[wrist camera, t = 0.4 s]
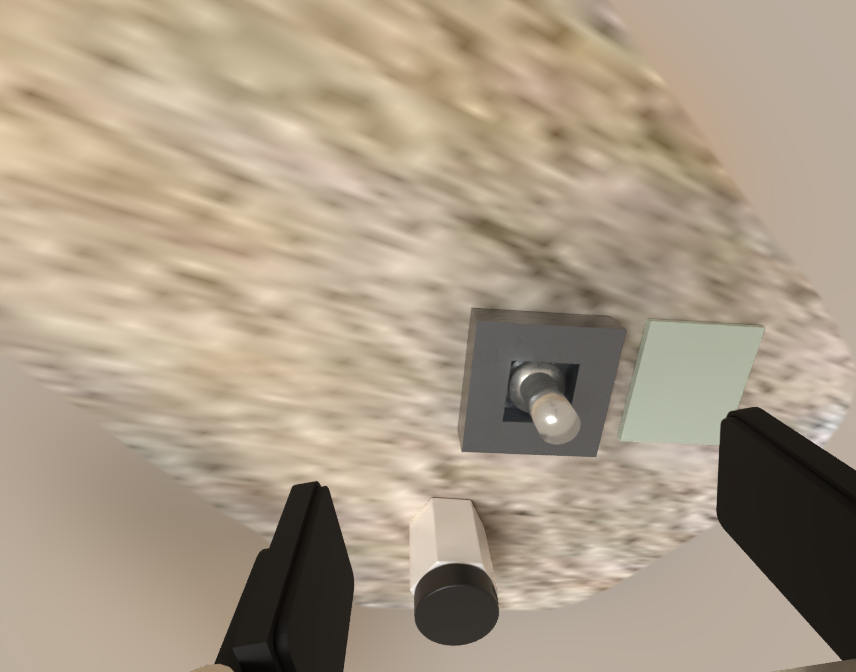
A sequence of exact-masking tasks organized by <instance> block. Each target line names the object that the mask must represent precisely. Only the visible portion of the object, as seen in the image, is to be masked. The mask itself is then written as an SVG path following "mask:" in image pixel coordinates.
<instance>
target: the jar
mask: <svg viewBox="0 0 856 672" xmlns="http://www.w3.org/2000/svg"><path fill="white" fill-rule="evenodd" d="M410 591H411V593H412V594H413V596H414V612H415V613H414V616H415V623H416V625H417V628H418V629H419V631H420V632H421V633H422V634H423V635H424V636H425V637H426V638H428V639H429V640H431V641H433V642H436V643H439V644H443V645H452V646H455V645H465V644H469V643H472V642H475V641H477V640H479V639H481V638H483V637H484V636H486V635H487V634H488V633H489V632H490V631H491V630H492V629H493V628H494V626H495V625H496V623H497V620H498V617H499V607H498V598H497V595H498V591H497V586H496V581H495V576H494V572H493V567H492V562H491V557H490V553H489V548H488V543H487V538H486V534H485V529H484V526H483V524H482V522H481V520H480V518H479V516H478V514H477V512H476V510H475V508H474V506H473V504H472V502H471V501H470V500H462V499H447V498H431V500H430V501H429V502H428V503H427V504H426V505H425V506H424V507H423V508H422V510H421V511H420V512H419V513H418V514H417V515H416V516H415V517H414V519H413V520H412V521H411V522H410Z"/></svg>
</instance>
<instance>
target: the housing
mask: <svg viewBox="0 0 856 672" xmlns="http://www.w3.org/2000/svg"><path fill="white" fill-rule="evenodd" d="M625 334H626V329H625V328H624V327H622V326H621V325H620V324H619V323H617V322H616V321H615V320H613V319H612V318H611V317H609V316H597V315H581V314H564V313H548V312H531V311H514V310H498V309H481V308H471V316H470V325H469V334H468V342H467V351H466V360H465V369H464V378H463V387H462V396H461V405H460V413H459V422H458V435H459V440H460V446H461V451H462V452H481V453H506V454H532V455H557V456H582V457H596V455H597V451H598V447H599V443H600V439H601V435H602V430H603V426H604V422H605V418H606V414H607V410H608V405H609V401H610V397H611V393H612V389H613V384H614V380H615V376H616V372H617V368H618V364H619V359H620V355H621V351H622V347H623V343H624V339H625ZM516 361H531V362H550V363H555V364H556V366H557V367H558V368H559V370H560V371H561V372H562V374H563V376H564V378H565V382H566V389H565V393H564V395H565V397H566V398H567V400H568V401H569V403H570V404H571V406H572V407H573V409H574V410H575V412H576V413H577V415H578V416H579V418H580V422H581V426H580V430H579V432H578V434H577V435H576V436H575V437H574V438H573V439H572V440H571V441H569V442H567V443H564V444H559V445H555V444H550V443H547V442H546V441H544V440H543V439H542V438H541V436H540V434H539V432H538V430H537V428H536V426H535V424H534V422H533V420H532V418H531V416H530V414H529V413H527V412H524V411H522V410H520V409H519V408H517V407H516V406H515V404H514V403H513V402H512V400H511V397H510V395H509V393H508V391H507V388H508V381H509V375H510V368H511V366H512V365H513V364H514V363H515V362H516Z"/></svg>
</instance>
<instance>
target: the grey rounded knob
mask: <svg viewBox="0 0 856 672" xmlns="http://www.w3.org/2000/svg"><path fill="white" fill-rule="evenodd" d="M565 389H566V382H565V378H564V376H563V374H562V372H561V371H560V370H559V368H558V367H557V366H556V364H555V363H550V362H531V361H516V362H515V363H514V364H513V365H512V366H511V368H510V375H509V381H508V388H507V391H508V393H509V395H510V397H511V400H512V402H513V403H514V404H515V406H516V407H517V408H519V409H520V410H522V411H524V412H527V413H529V414H530V416H531V418H532V420H533V422H534V424H535V426H536V428H537V430H538V432H539V434H540V436H541V438H542V439H543V440H544V441H546V442H547V443H550V444H555V445H559V444H564V443H567V442H569V441H571V440H572V439H573V438H574V437H575V436H576V435H577V434H578V432H579V430H580V426H581V422H580V418H579V416H578V415H577V413H576V412H575V410H574V409H573V407H572V406H571V404H570V403H569V401H568V400H567V398H566V397H565V395H564V393H565Z"/></svg>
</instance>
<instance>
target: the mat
mask: <svg viewBox="0 0 856 672" xmlns="http://www.w3.org/2000/svg"><path fill="white" fill-rule="evenodd" d="M764 330H765V327H762V326H760V325H747V324H731V323H714V322H697V321H681V320H664V319H647V322H646V326H645V330H644V334H643V337H642V341H641V345H640V349H639V353H638V357H637V361H636V365H635V369H634V373H633V377H632V381H631V385H630V389H629V393H628V397H627V400H626V404H625V408H624V412H623V416H622V420H621V424H620V428H619V432H618V436H617V437H618V439H619V440H620V441H630V442H654V443H678V444H702V445H719V444H720V424H721V421H722V420H723V419H724V418H726V416H727V414H728V412H730V411H734V410H737V407H738V405H739V402H740V399H741V396H742V393H743V390H744V387H745V385H746V382H747V379H748V376H749V373H750V370H751V367H752V365H753V362H754V359H755V356H756V353H757V350H758V348H759V345H760V342H761V339H762V336H763V333H764Z"/></svg>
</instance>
